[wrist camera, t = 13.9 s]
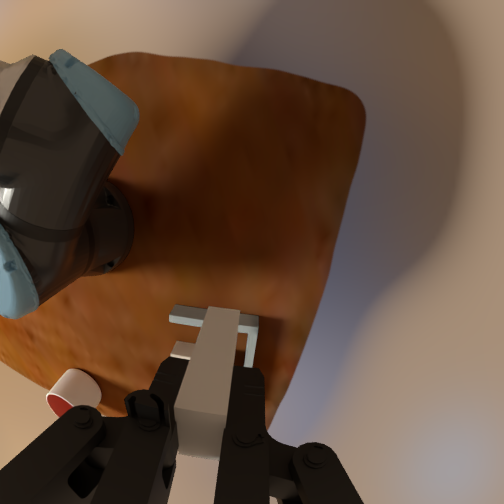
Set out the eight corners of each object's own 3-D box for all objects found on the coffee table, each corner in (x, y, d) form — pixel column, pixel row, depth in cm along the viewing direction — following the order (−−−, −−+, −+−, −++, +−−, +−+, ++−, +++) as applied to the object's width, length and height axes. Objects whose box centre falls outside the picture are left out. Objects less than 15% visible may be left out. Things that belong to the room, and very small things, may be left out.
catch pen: (177, 386, 47) (172, 399, 43) (175, 304, 42) (169, 314, 39) (245, 397, 47) (244, 410, 44) (258, 315, 42) (258, 327, 39)
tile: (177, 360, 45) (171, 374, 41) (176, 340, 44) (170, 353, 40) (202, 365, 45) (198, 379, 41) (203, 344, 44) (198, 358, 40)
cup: (76, 359, 47) (53, 387, 37) (110, 391, 49) (92, 422, 39) (61, 375, 49) (40, 400, 39) (92, 404, 50) (75, 432, 41)
